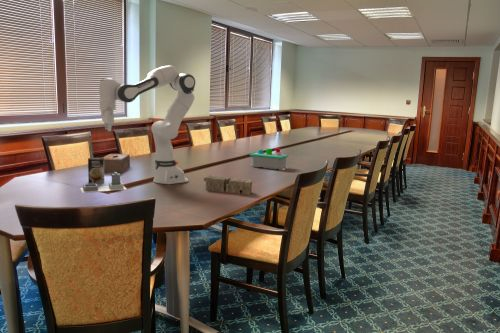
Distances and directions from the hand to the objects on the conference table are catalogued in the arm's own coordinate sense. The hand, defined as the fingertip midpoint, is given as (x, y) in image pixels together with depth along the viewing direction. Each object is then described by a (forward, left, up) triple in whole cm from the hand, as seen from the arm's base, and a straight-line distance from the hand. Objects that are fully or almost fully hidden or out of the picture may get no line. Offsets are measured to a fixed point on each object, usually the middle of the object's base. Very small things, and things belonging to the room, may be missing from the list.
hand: (108, 130), depth 243 cm
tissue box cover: (-13, -53, -35) cm, 65 cm away
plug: (-2, +10, -33) cm, 34 cm away
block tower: (-64, +33, -35) cm, 80 cm away
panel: (+5, +10, -34) cm, 36 cm away
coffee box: (+6, -10, -34) cm, 36 cm away
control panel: (-128, -28, -34) cm, 136 cm away
